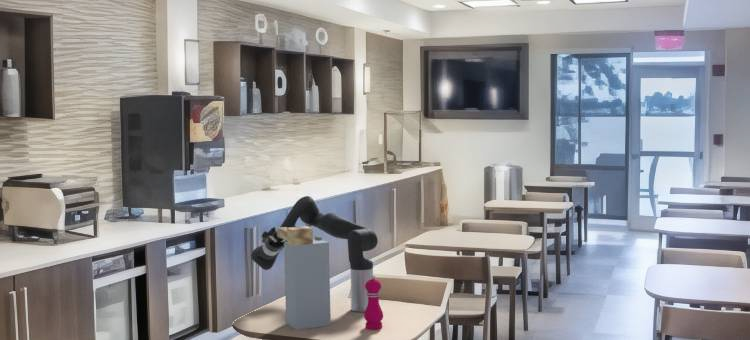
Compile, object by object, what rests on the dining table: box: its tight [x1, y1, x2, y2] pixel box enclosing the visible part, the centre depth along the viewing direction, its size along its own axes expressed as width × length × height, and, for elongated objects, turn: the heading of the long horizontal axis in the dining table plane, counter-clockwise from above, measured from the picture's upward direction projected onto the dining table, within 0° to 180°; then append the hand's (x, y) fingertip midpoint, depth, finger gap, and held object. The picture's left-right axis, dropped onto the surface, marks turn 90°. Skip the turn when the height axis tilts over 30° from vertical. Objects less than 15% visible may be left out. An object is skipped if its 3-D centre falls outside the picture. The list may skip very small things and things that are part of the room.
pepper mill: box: [363, 274, 384, 331], centre depth 307 cm, size 7×7×20 cm
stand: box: [283, 235, 332, 331], centre depth 313 cm, size 14×11×33 cm
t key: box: [276, 225, 314, 246], centre depth 316 cm, size 8×24×6 cm, turn 26°
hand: (284, 228), depth 322 cm, fingers open, 8 cm apart
